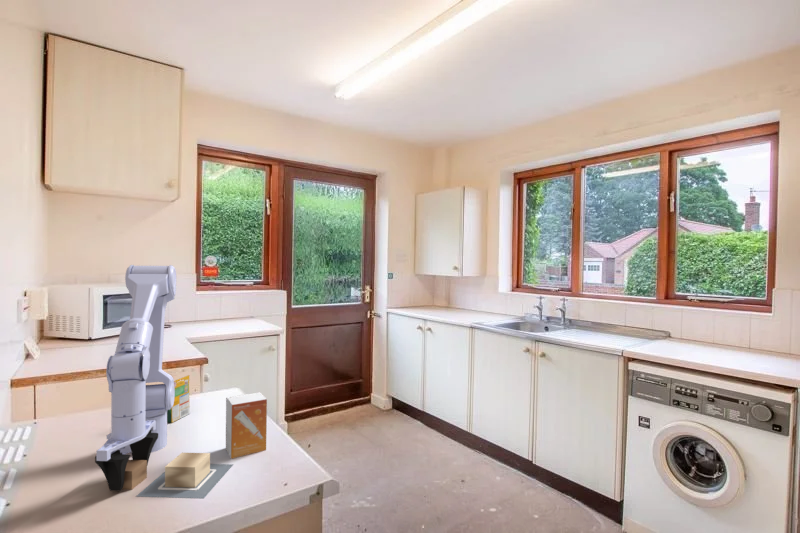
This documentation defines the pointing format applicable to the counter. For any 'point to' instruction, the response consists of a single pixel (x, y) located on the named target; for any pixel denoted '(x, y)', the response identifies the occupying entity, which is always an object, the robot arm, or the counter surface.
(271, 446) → the counter surface
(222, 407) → the counter surface
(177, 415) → the crayon box
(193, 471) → the maple block
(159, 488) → the board
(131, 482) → the walnut block
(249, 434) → the small box
